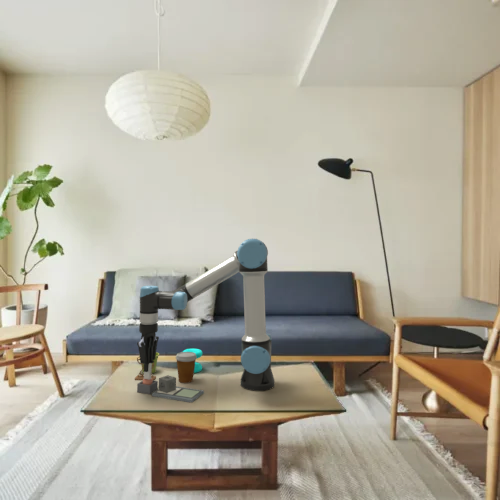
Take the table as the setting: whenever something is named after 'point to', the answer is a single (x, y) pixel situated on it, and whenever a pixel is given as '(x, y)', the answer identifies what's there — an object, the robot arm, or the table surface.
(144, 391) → the button housing
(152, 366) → the plant pot
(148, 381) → the button
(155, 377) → the brown scrollwork sculpture
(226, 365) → the table surface
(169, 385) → the dice cube
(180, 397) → the picture board
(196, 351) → the donuts
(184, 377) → the disposable coffee cup
